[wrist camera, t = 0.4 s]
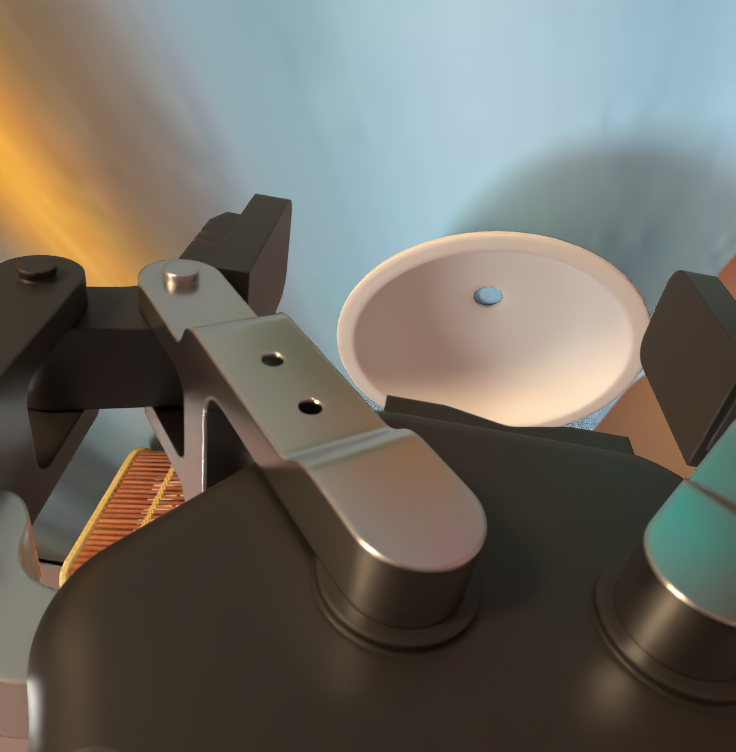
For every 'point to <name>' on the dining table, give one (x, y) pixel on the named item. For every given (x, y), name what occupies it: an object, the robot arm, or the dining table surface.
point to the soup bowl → (495, 329)
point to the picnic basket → (127, 505)
